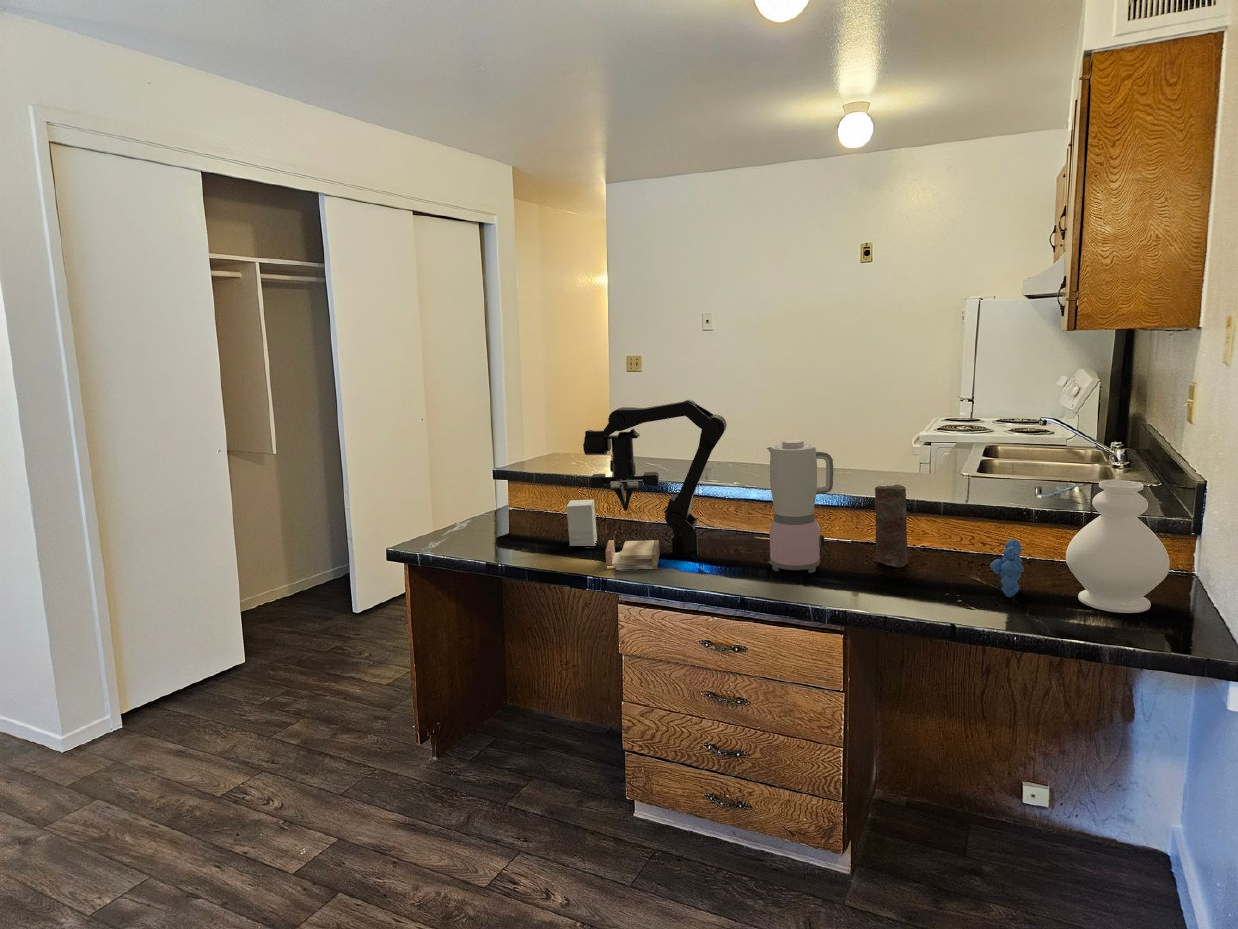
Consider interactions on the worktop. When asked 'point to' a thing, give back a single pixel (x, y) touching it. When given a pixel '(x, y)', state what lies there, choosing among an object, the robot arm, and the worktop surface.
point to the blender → (796, 505)
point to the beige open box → (640, 553)
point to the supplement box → (581, 522)
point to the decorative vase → (1118, 552)
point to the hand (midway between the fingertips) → (626, 510)
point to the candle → (891, 525)
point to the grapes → (1009, 567)
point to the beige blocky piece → (614, 557)
